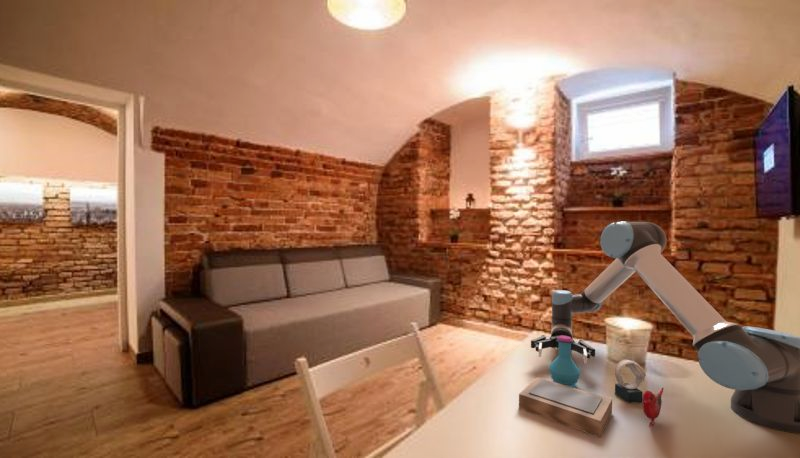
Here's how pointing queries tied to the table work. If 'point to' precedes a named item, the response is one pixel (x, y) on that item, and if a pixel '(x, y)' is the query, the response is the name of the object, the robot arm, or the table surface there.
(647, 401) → the decorative bird figurine
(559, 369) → the perfume bottle
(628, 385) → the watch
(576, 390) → the walnut stand
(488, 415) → the table surface
